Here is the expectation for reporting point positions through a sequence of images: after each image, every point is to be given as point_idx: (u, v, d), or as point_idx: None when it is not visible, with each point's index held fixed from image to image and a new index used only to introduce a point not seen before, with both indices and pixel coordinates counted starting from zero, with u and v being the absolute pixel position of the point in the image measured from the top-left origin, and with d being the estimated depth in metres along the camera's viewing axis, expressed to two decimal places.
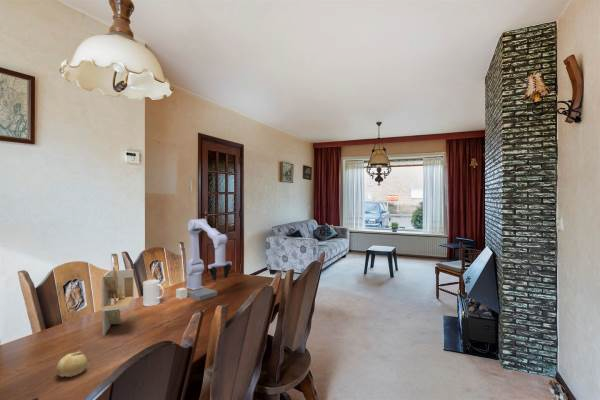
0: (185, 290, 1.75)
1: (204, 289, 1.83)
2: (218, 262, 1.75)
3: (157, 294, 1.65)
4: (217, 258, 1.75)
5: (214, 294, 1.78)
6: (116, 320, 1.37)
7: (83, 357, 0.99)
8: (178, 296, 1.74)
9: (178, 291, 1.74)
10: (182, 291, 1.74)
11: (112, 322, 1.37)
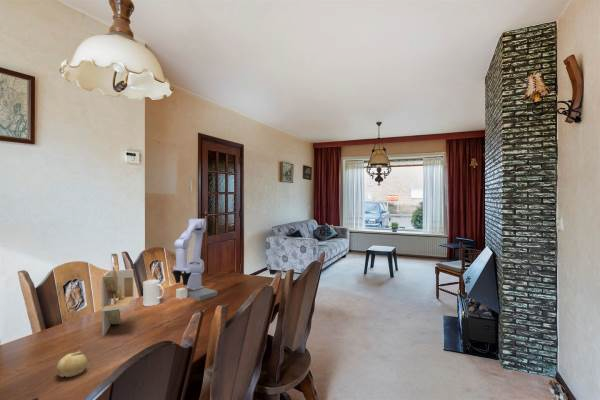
0: (185, 290, 1.75)
1: (204, 289, 1.83)
2: None
3: (157, 294, 1.65)
4: None
5: (214, 294, 1.78)
6: (116, 320, 1.36)
7: (83, 357, 0.99)
8: (178, 296, 1.74)
9: (178, 291, 1.74)
10: (182, 291, 1.74)
11: (112, 322, 1.37)
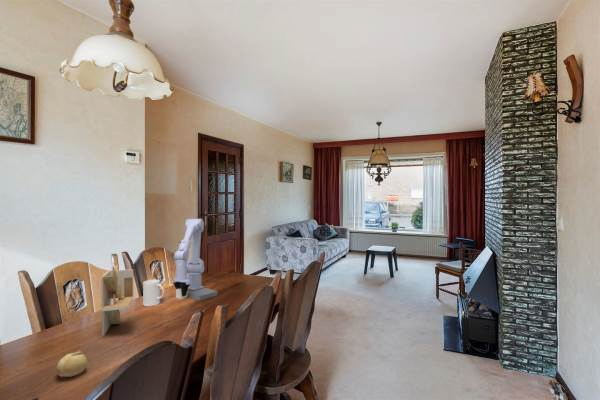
0: None
1: (204, 289, 1.83)
2: None
3: (157, 294, 1.65)
4: None
5: (214, 294, 1.78)
6: (116, 320, 1.36)
7: (83, 357, 0.99)
8: (178, 296, 1.74)
9: (178, 291, 1.74)
10: None
11: (112, 322, 1.37)
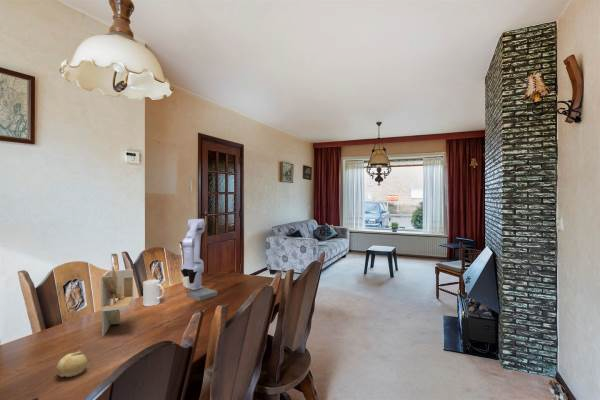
0: None
1: (204, 289, 1.83)
2: None
3: (157, 294, 1.65)
4: None
5: (214, 294, 1.78)
6: (116, 320, 1.36)
7: (83, 357, 0.99)
8: (185, 284, 1.75)
9: (185, 279, 1.75)
10: None
11: (112, 322, 1.37)
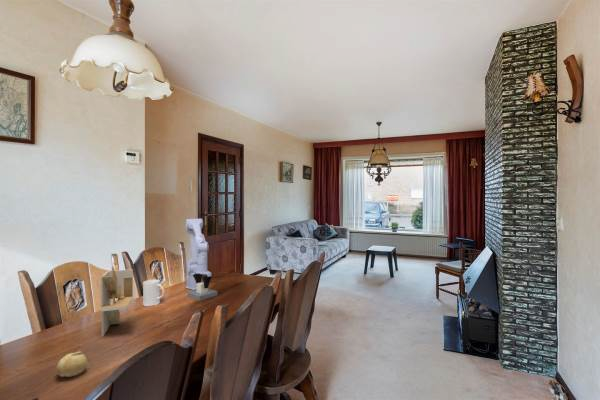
0: None
1: None
2: None
3: (157, 294, 1.65)
4: None
5: (214, 294, 1.78)
6: (115, 320, 1.36)
7: (83, 357, 0.99)
8: (199, 290, 1.76)
9: (199, 285, 1.76)
10: (203, 285, 1.76)
11: (111, 322, 1.36)
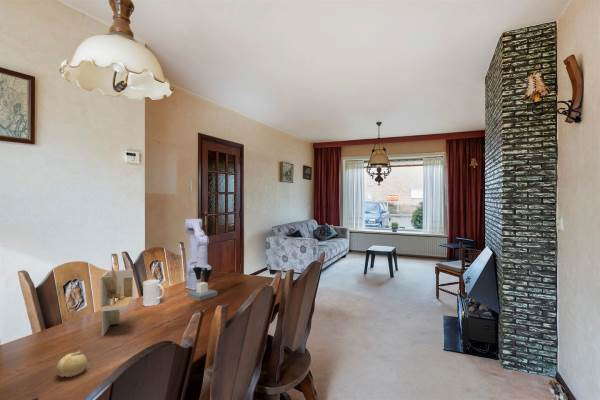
0: (205, 284, 1.78)
1: None
2: None
3: (157, 294, 1.65)
4: None
5: (214, 294, 1.78)
6: (115, 320, 1.36)
7: (83, 357, 0.99)
8: (199, 290, 1.76)
9: (199, 285, 1.76)
10: (203, 285, 1.76)
11: (111, 322, 1.36)
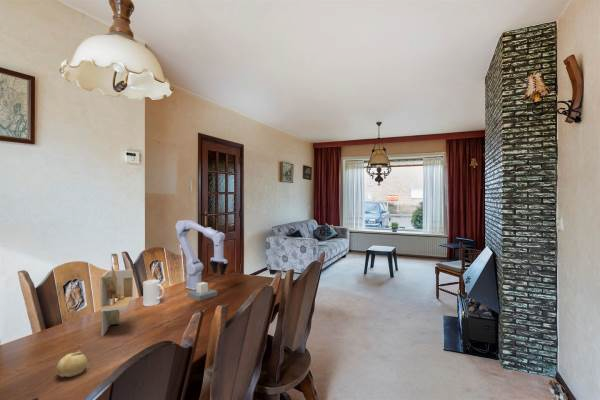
0: (205, 284, 1.78)
1: None
2: None
3: (157, 294, 1.65)
4: None
5: (214, 294, 1.78)
6: (115, 320, 1.36)
7: (83, 357, 0.99)
8: (199, 290, 1.76)
9: (199, 285, 1.76)
10: (203, 285, 1.76)
11: (111, 322, 1.36)
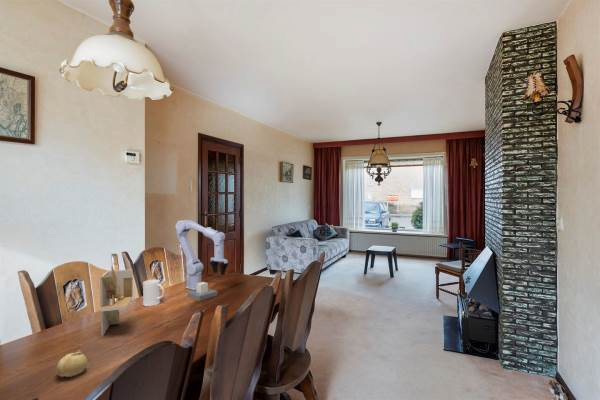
0: (205, 284, 1.78)
1: None
2: None
3: (157, 294, 1.65)
4: None
5: (214, 294, 1.78)
6: (115, 320, 1.36)
7: (83, 357, 0.99)
8: (199, 290, 1.76)
9: (199, 285, 1.76)
10: (203, 285, 1.76)
11: (111, 322, 1.36)
